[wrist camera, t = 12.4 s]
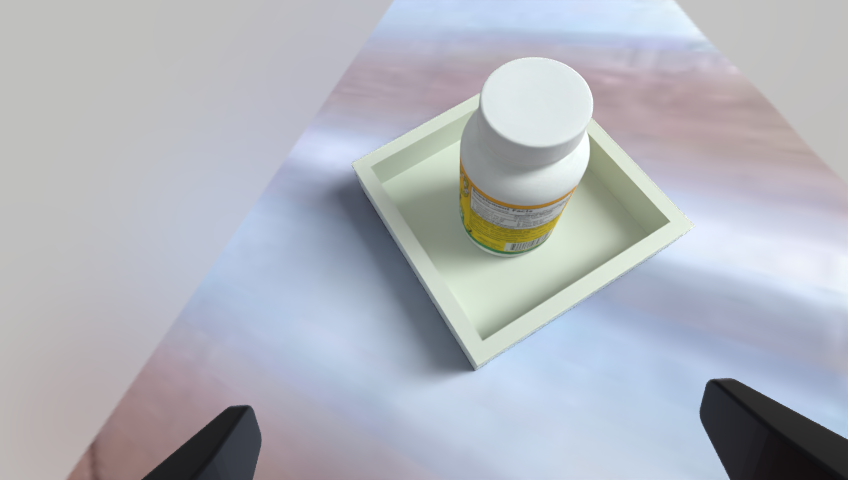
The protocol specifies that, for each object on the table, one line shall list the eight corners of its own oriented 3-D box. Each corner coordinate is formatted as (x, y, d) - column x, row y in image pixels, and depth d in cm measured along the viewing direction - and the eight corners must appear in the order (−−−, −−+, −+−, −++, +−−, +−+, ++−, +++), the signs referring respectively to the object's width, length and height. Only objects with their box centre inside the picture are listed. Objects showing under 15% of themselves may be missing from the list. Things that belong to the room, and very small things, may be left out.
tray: (666, 247, 23) (695, 226, 20) (475, 370, 22) (477, 366, 19) (529, 95, 27) (537, 61, 25) (362, 189, 26) (350, 163, 23)
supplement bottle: (528, 276, 22) (575, 192, 13) (441, 231, 24) (431, 126, 15) (570, 197, 24) (638, 73, 15) (486, 158, 25) (502, 24, 16)
